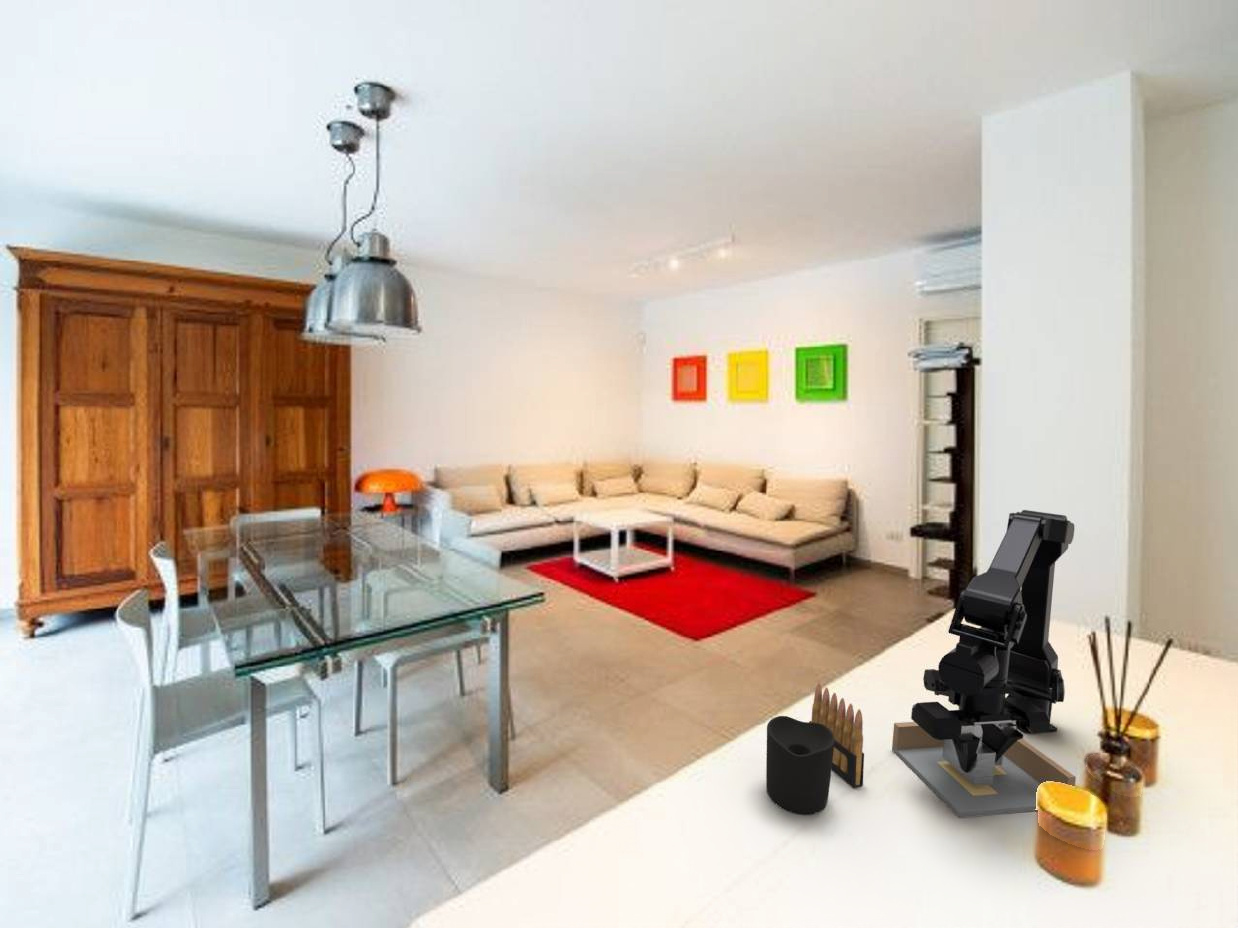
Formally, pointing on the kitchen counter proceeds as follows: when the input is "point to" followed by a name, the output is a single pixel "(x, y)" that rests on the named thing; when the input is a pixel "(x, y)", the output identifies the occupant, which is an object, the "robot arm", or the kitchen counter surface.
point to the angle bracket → (982, 761)
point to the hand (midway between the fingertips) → (974, 769)
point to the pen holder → (799, 764)
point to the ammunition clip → (842, 735)
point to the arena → (1004, 796)
